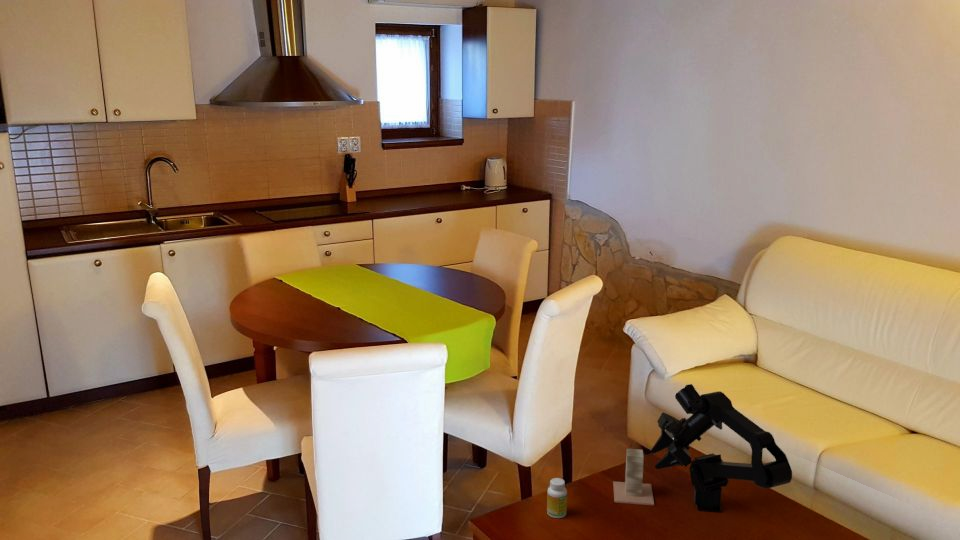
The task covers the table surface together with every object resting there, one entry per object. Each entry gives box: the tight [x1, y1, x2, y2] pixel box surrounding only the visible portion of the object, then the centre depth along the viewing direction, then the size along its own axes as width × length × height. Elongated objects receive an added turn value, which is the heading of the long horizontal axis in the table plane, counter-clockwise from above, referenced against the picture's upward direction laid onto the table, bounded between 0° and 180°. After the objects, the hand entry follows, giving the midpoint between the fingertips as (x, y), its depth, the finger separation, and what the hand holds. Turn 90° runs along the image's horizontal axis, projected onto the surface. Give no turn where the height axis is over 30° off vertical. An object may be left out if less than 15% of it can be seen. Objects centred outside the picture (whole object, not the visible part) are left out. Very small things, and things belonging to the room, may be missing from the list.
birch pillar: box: [624, 448, 644, 497], centre depth 208 cm, size 4×4×12 cm
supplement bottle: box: [546, 477, 568, 519], centre depth 199 cm, size 5×5×10 cm
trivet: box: [612, 481, 655, 506], centre depth 210 cm, size 11×11×1 cm
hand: (653, 459), depth 206 cm, fingers open, 9 cm apart
